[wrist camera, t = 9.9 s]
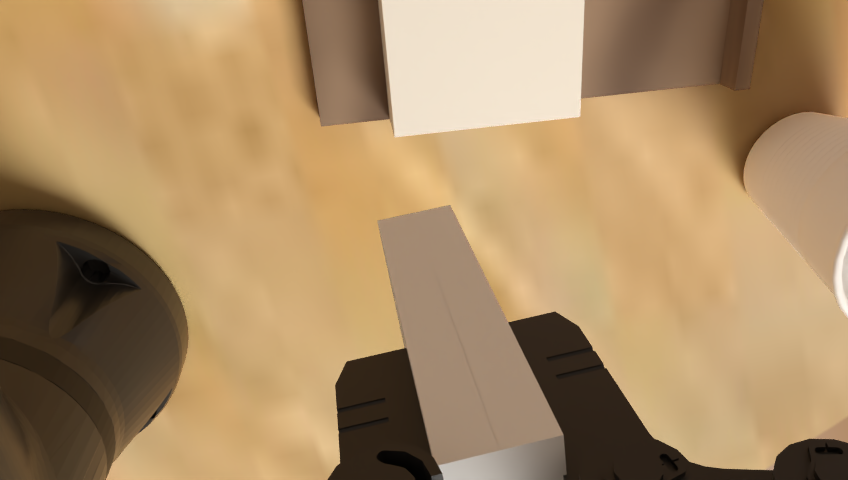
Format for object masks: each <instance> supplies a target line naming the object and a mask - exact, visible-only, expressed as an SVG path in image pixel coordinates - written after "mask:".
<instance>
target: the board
mask: <svg viewBox="0 0 848 480" xmlns="http://www.w3.org/2000/svg"><path fill="white" fill-rule="evenodd" d="M302 1H303V8H304V15H305V22H306V28H307V35H308V42H309V48H310V55H311V62H312V69H313V75H314V82H315V89H316V95H317V102H318V109H319V116H320V122H321V126H330V125H339V124H348V123H357V122H367V121H376V120H385V119H390V117H389V107H388V97H387V87H386V77H385V67H384V57H383V47H382V36H381V26H380V16H379V6H378V0H302ZM763 1H764V0H585V3H584V29H583V55H582V81H581V98H590V97H599V96H608V95H618V94H627V93H636V92H645V91H655V90H664V89H673V88H683V87H692V86H701V85H710V84H722V85H724V86H726V87H728V88H730V89H733V90H744V89H750V83H751V77H752V71H753V64H754V58H755V52H756V45H757V39H758V33H759V26H760V20H761V13H762V7H763Z"/></svg>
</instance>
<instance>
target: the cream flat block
mask: <svg viewBox="0 0 848 480" xmlns="http://www.w3.org/2000/svg"><path fill="white" fill-rule="evenodd" d="M584 3H585V0H378V6H379V16H380V26H381V36H382V47H383V57H384V67H385V77H386V87H387V97H388V107H389V117H390V122H391V126H392V129H393V133H394V136H395V137H401V136H410V135H419V134H428V133H437V132H446V131H456V130H465V129H474V128H483V127H492V126H501V125H510V124H519V123H528V122H537V121H547V120H556V119H565V118H574V117H580V107H581V81H582V55H583V29H584Z"/></svg>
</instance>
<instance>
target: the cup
mask: <svg viewBox="0 0 848 480" xmlns="http://www.w3.org/2000/svg"><path fill="white" fill-rule="evenodd" d="M743 180H744V185H745V189H746V191H747V194H748V196H749V197H750V198H751V200H752V201H753V202H754V203H755V204H756V205H757V207H758V208H759V209H760V210H761V211H762V212H763V214H764V215H765V216H766V217H767V218H768V219H769V220H770V221H771V223H772V224H773V225H774V226H775V227H776V228H777V229H778V230H779V232H780V233H781V234H782V235H783V236H784V238H786V240H787V241H788V242H789V243H790V244H791V245H792V247H793V248H794V249H795V250H796V251H797V252H798V253H799V255H800V256H801V257H802V258H803V259H804V260H805V262H806V263H807V264H808V265H809V266H810V267H811V269H812V270H813V271H814V272H815V273H816V275H817V276H818V277H819V278H820V279H821V280H822V281H823V283H824V284H825V285H826V286H827V287H828V288H829V289H830V291H831V292H832V293H833V294H834V296H835V298H836V301H837V303H838V306H839V308H840V309H841V310H842V311H843V313H844V314H845V315H846V316H847V318H848V118H845V117H840V116H834V115H828V114H822V113H816V112H802V113H797V114H793V115H790V116H788V117H786V118H783V119H781V120H780V121H778V122H776V123H775V124H773V125H772V126H771V127H770V128H768V129H767V130H766V131H765V132H764V133H763V134H762V135H761V136H760V137H759V138H758V140H757V141H756V142H755V144H754V145H753V147H752V149H751V150H750V152H749V155H748V157H747V159H746V163H745V167H744V177H743Z"/></svg>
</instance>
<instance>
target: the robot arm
mask: <svg viewBox="0 0 848 480" xmlns="http://www.w3.org/2000/svg"><path fill="white" fill-rule="evenodd" d="M378 226H379V231H380V235H381V240H382V245H383V249H384V254H385V259H386V263H387V268H388V273H389V278H390V282H391V287H392V292H393V296H394V301H395V306H396V310H397V315H398V320H399V324H400V329H401V333H402V338H403V342H404V346H405V348H404V349H400V350H395V351H391V352H387V353H382V354H378V355H374V356H369V357H365V358H361V359H356V360H352V361H347V362H346V364H345V366H344V368H343V370H342V372H341V374H340V377H339V379H338V381H337V383H336V385H335V387H336V402H337V411H338V414H337V417H338V430H339V448H340V464H339V465H338V466H337V467H336V468H335V469H334V471H333V472H332V474H331V475H330V477H329V478H328V480H848V443H846V442H842V441H838V440H834V439H833V440H832V439H808V440H804V441H801V442H797V443H794V444H790V445H789V446H788V447H786V448H785V449H784V450H783V451H782V452H781V453H780V454H779V455H778V456H777V457H776V461H775V465H774V470H743V469H721V468H712V467H705V466H701V465H698V464H695V463H691V462H689V461H688V460H687V459H686V458H685V457H684V456H683V455H682V454H681V453H680V452H679V451H678V450H677V449H675V448H673V447H671V446H669V445H667V444H665V443H663V442H661V441H659V440H656V439H654V438H653V437H652V436H651V435H650V434H649V432H648V431H647V429H646V428H645V426H644V425H643V423H642V422H641V420H640V419H639V417H638V416H637V414H636V413H635V411H634V410H633V408H632V407H631V405H630V404H629V402H628V401H627V399H626V397H625V396H624V394H623V393H622V391H621V390H620V388H619V387H618V385H617V384H616V382H615V381H614V379H613V378H612V376H611V375H610V373H609V372H608V370H607V369H606V368H604V365H603V363H602V361H601V360H600V358H599V356H598V355H597V353H596V352H595V351H593V349H592V346H591V344H590V343H589V341H588V340H587V338H586V337H585V335H584V334H583V332H582V331H581V329H580V328H579V326H577V325H576V324H574V323H572V322H571V321H569V320H568V319H566V318H564V317H563V316H561V315H560V314H558V313H556V312H552V313H547V314H543V315H539V316H534V317H530V318H526V319H521V320H517V321H512V322H508V321H507V319H506V317H505V315H504V313H503V311H502V309H501V307H500V305H499V303H498V301H497V299H496V297H495V295H494V293H493V291H492V289H491V287H490V285H489V283H488V281H487V279H486V277H485V275H484V273H483V271H482V269H481V267H480V265H479V263H478V261H477V258H476V256H475V254H474V252H473V250H472V248H471V246H470V244H469V242H468V240H467V238H466V236H465V234H464V232H463V230H462V228H461V226H460V224H459V222H458V220H457V218H456V216H455V214H454V212H453V210H452V208H451V206H450V205H448V206H444V207H439V208H434V209H430V210H425V211H420V212H416V213H411V214H406V215H402V216H397V217H392V218H388V219H383V220H378ZM187 348H188V326H187V320H186V316H185V312H184V309H183V306H182V303H181V301H180V299H179V296H178V295H177V293H176V291H175V289H174V287H173V286H172V284H171V283H170V281H169V280H168V278H167V277H166V276H165V274H164V273H163V272H162V271H161V269H160V268H159V267H158V266H157V265H156V264H155V263H154V262H153V261H152V260H151V259H150V258H149V257H148V256H147V255H146V254H144V253H143V252H142V251H141V250H140V249H138V248H137V247H136V246H134V245H133V244H131V243H130V242H128V241H127V240H125V239H124V238H122V237H121V236H119V235H117V234H115V233H113V232H112V231H110V230H108V229H106V228H103V227H101V226H99V225H96V224H94V223H91V222H89V221H86V220H83V219H80V218H77V217H73V216H69V215H65V214H61V213H55V212H49V211H41V210H4V211H0V480H106V478H107V475H108V473H109V470H110V468H111V465H112V463H113V462H114V461H115V460H116V458H117V457H118V456H119V455H120V454H121V452H122V451H123V450H124V449H125V447H126V446H127V445H128V444H129V443H130V442H131V440H132V439H133V438H134V437H135V436H136V435H137V434H138V433H139V432H141V431H142V430H143V429H144V428H146V427H147V426H148V425H149V424H150V423H151V422H152V421H153V420H154V419H155V418H156V417H157V416H158V415H159V413H160V412H161V411H162V410H163V409H164V407H165V406H166V404H167V403H168V401H169V399H170V398H171V396H172V394H173V392H174V390H175V388H176V386H177V383H178V380H179V377H180V374H181V371H182V368H183V364H184V361H185V358H186V354H187Z"/></svg>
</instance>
